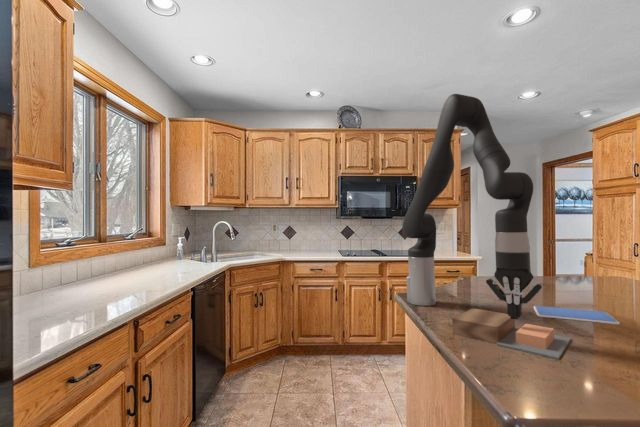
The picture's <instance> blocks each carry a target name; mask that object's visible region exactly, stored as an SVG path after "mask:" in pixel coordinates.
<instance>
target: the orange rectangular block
mask: <svg viewBox="0 0 640 427" xmlns="http://www.w3.org/2000/svg"><path fill="white" fill-rule="evenodd" d="M519 328H520V329H519V330H518V331H517V332H516V343H519V344H524V345H528V346H533V347H537V348H542V349H547V348H548V346H549V345H550V344H551V343H552V341H553V340H554V335H555V329H554V328H552V327H546V326H541V325H535V324H529V323H525V324H523V325H522V326H521V327H519Z"/></svg>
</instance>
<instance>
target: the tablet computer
mask: <svg viewBox="0 0 640 427" xmlns="http://www.w3.org/2000/svg"><path fill="white" fill-rule="evenodd" d="M533 309H534V312H535V314H536V315H537V317H539V318H540V317H541V318H548V319H558V320H568V321H569V320H570V321H577V322H578V321H579V322H589V323H598V324H605V325H617V326H618V325H621V323H620V322H619V321H618V320H617V319H615V318H614V317H613V316H612V315H611V314H609V313H608V312H606V311H602V310H601V311H600V310H590V309H589V310H588V309H587V310H586V309H577V308H568V307H567V308H566V307H565V308H564V307H554V306H543V305H534V306H533Z"/></svg>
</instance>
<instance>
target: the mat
mask: <svg viewBox="0 0 640 427" xmlns="http://www.w3.org/2000/svg"><path fill="white" fill-rule="evenodd" d="M520 328H521V327H515V329H514V330H512V331H511V332H510V333H509V334H508V335H506V336H505V337H504V338H503V339H502V340H501V341H499V342H498V343H497V344H496V345H497V346H499V347H503V348H507V349H511V350H516V351H519V352H520V351H521V352H524V353H529V354H533V355H537V356H542V357H546V358H550V359H555V360H559V359H560V358H561V357H562V355H563V354H564V352H565V350H566V349H567V347H568V345H569V343H570V342H571V340H572V337H568V336H563V335H558V334H554V340H553V341H552V343H551V344H550V345H549V346H548V348H547V349H542V348H537V347H533V346H528V345H524V344H519V343H516V332H517V331H518V330H519V329H520Z"/></svg>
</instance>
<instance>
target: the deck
mask: <svg viewBox="0 0 640 427" xmlns="http://www.w3.org/2000/svg"><path fill="white" fill-rule="evenodd" d="M515 321H516V319H511V318H510V316H508V313H503V312H498V311H490V310H485V309H480V308H479V309H478V308H474V307H473V308H472V307H471V308H470V309H468V310H467V311H465V312H462V313H461V314H459V315H457V316H454V317H453V318H452V334H453V335H457V336H460V337H466V338H470V339H474V340H479V341H484V342H487V343H492V344H496V345H497V343H498V342H499V341H501V340H502V339H503V338H504V337H505V336H506V335H508V334H509V333H510V332H511V331H512V330H514V329H515V328H516V322H515Z"/></svg>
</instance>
